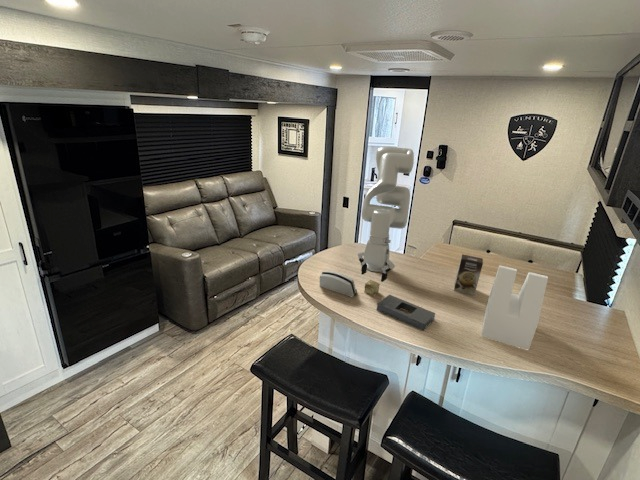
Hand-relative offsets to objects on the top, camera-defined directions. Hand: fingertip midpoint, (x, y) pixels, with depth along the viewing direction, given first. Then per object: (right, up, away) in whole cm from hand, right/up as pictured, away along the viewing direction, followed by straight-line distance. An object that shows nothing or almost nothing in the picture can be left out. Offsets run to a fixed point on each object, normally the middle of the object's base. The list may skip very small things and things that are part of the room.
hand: (373, 277), depth 151 cm
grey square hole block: (+11, -14, -11) cm, 21 cm away
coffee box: (+44, -7, +11) cm, 46 cm away
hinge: (-16, -6, +4) cm, 17 cm away
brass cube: (0, -7, +4) cm, 8 cm away
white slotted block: (+48, -19, -17) cm, 54 cm away
